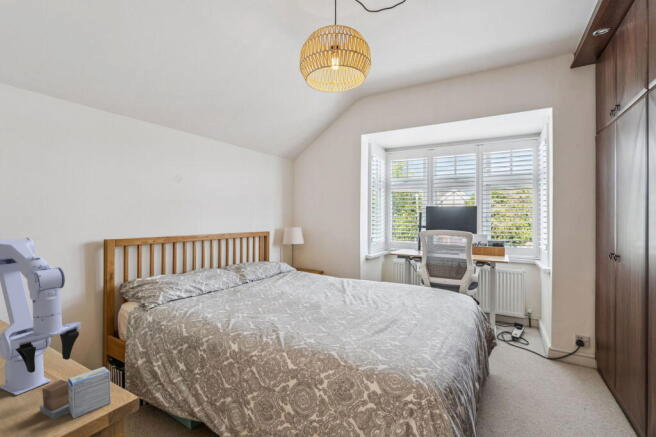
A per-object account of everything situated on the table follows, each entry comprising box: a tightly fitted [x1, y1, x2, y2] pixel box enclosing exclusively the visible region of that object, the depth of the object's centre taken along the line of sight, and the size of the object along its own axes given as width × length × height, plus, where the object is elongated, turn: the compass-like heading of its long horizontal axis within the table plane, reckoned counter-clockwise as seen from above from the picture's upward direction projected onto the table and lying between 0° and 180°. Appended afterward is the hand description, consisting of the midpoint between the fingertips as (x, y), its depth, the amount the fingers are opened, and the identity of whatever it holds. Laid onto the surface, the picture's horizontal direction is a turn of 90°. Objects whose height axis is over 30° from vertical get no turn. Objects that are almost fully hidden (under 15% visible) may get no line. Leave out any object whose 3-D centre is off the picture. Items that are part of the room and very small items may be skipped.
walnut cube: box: [41, 379, 69, 411], centre depth 79 cm, size 4×4×5 cm
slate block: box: [39, 403, 70, 420], centre depth 80 cm, size 7×5×2 cm
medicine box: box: [67, 366, 112, 419], centre depth 81 cm, size 8×4×9 cm, turn 141°
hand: (49, 364), depth 84 cm, fingers open, 7 cm apart
